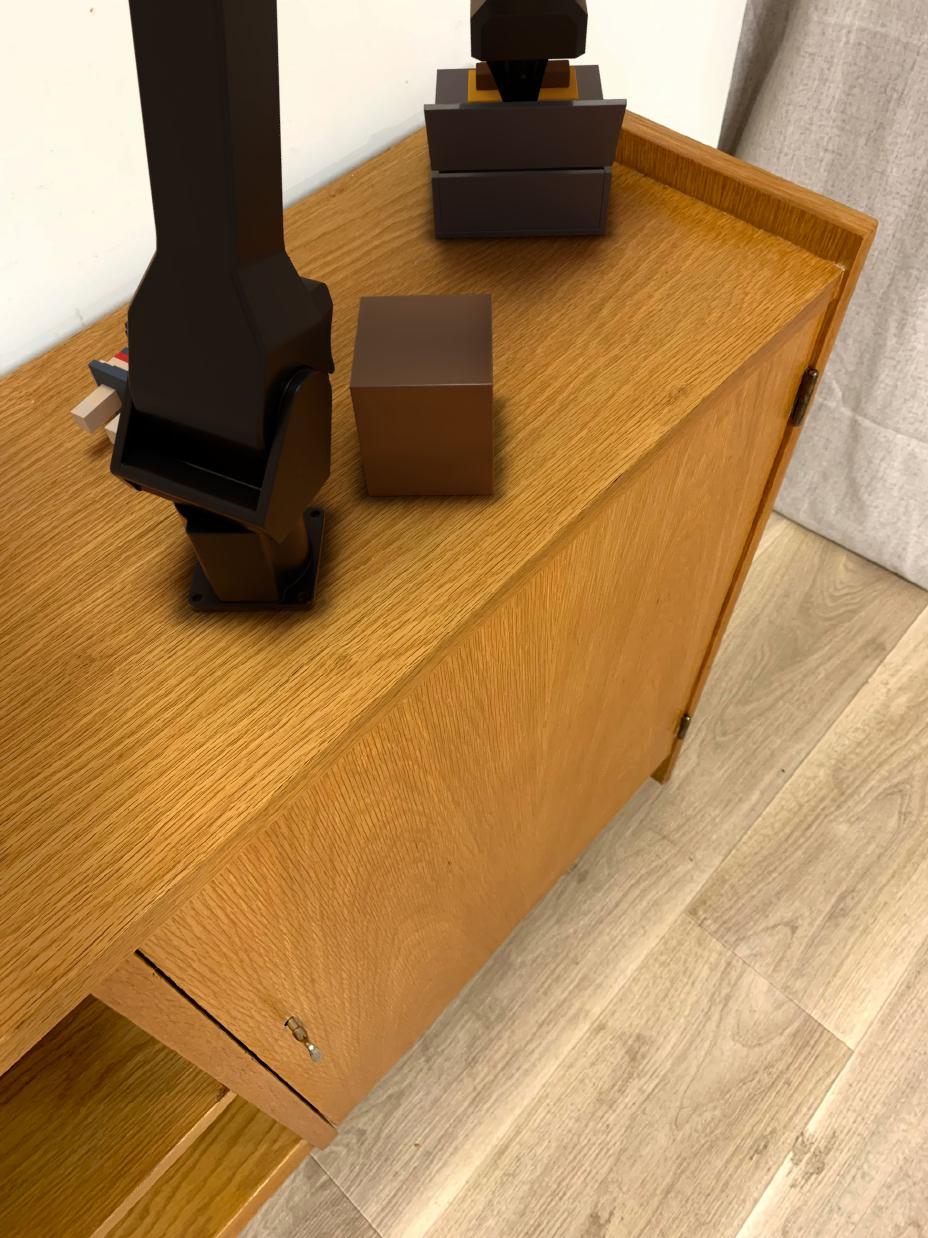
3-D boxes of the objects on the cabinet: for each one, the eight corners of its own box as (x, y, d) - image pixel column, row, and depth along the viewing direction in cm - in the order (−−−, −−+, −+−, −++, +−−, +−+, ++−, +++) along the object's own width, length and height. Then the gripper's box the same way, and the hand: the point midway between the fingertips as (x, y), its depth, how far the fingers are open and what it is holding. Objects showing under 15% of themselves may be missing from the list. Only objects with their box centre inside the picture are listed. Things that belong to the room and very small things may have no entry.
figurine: (28, 380, 50) (200, 237, 57) (59, 434, 53) (218, 294, 60) (145, 434, 47) (311, 278, 54) (170, 488, 51) (323, 335, 58)
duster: (572, 97, 60) (575, 49, 58) (576, 128, 58) (579, 80, 55) (469, 100, 60) (467, 52, 58) (469, 132, 58) (467, 84, 56)
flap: (612, 160, 58) (612, 166, 58) (431, 165, 59) (431, 170, 59) (626, 98, 52) (627, 104, 52) (423, 103, 52) (423, 110, 52)
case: (605, 234, 63) (613, 161, 58) (435, 238, 63) (430, 165, 59) (592, 135, 70) (599, 63, 65) (440, 139, 70) (436, 68, 66)
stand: (493, 494, 50) (492, 384, 43) (369, 496, 50) (348, 386, 43) (493, 406, 53) (492, 292, 47) (377, 408, 54) (359, 295, 47)
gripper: (710, -141, 40) (658, 187, 54) (664, -260, 51) (630, 39, 64) (466, -132, 41) (474, 191, 54) (469, -252, 51) (475, 44, 64)
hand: (521, 110), depth 59 cm, fingers closed on duster, 4 cm apart
